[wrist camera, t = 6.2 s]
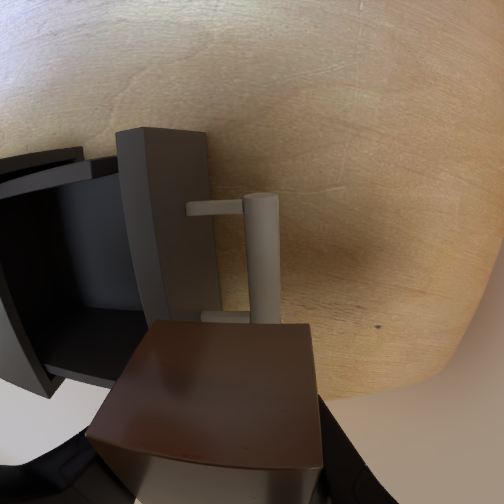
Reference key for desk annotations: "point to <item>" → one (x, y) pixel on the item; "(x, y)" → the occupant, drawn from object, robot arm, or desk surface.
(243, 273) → the desk surface
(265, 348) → the block
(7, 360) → the cabinet
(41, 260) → the drawer
